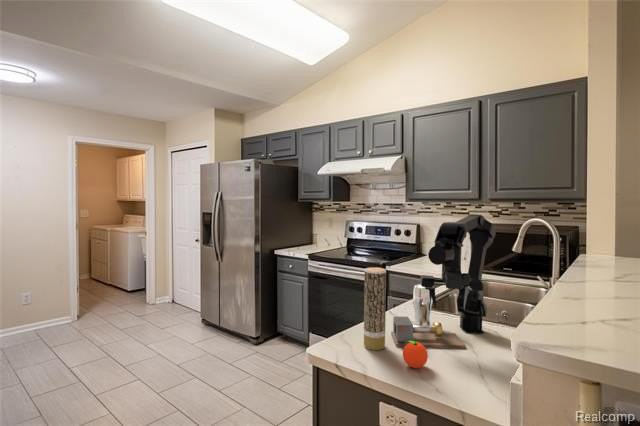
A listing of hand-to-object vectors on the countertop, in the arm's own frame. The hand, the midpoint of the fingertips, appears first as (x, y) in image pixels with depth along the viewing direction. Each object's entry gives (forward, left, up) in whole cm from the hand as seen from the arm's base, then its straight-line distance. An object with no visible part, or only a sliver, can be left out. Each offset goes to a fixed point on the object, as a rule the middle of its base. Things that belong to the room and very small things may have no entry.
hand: (449, 308), depth 113 cm
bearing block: (+15, -2, -12) cm, 19 cm away
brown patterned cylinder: (+25, +3, -12) cm, 28 cm away
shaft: (+8, -2, -10) cm, 13 cm away
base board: (+7, -2, -12) cm, 14 cm away
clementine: (+15, +15, -12) cm, 24 cm away
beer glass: (+5, -16, -12) cm, 21 cm away
